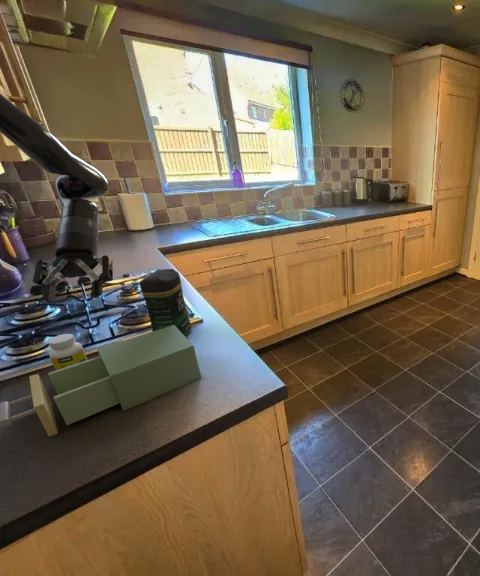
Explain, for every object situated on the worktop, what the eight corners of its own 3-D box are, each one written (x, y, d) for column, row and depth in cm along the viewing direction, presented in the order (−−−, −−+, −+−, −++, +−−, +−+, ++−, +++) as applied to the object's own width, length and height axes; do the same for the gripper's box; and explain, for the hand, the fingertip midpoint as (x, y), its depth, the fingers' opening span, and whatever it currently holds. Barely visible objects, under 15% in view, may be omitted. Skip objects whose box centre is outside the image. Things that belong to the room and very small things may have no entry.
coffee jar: (184, 343, 87) (168, 279, 79) (151, 346, 85) (131, 280, 78) (196, 325, 95) (182, 265, 88) (166, 327, 94) (149, 266, 86)
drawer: (10, 453, 55) (-8, 423, 52) (8, 416, 62) (-8, 388, 59) (139, 398, 67) (130, 371, 64) (125, 373, 74) (116, 347, 71)
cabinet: (123, 411, 65) (110, 376, 61) (109, 381, 73) (97, 348, 69) (201, 377, 75) (193, 345, 71) (181, 354, 83) (174, 324, 79)
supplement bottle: (65, 386, 71) (47, 348, 67) (56, 377, 73) (39, 339, 69) (95, 373, 75) (81, 336, 71) (86, 364, 78) (72, 329, 74)
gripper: (30, 232, 76) (21, 297, 71) (105, 229, 81) (102, 289, 75) (51, 248, 82) (44, 308, 77) (119, 244, 87) (116, 300, 82)
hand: (72, 299), depth 76 cm, fingers open, 8 cm apart
